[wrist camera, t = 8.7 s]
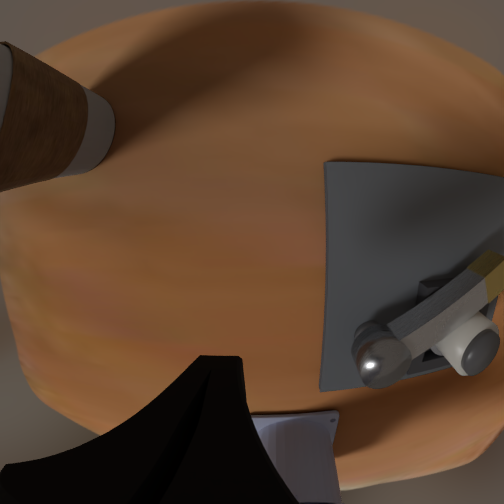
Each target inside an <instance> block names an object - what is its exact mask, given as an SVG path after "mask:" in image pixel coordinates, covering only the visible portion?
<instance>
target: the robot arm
mask: <svg viewBox="0 0 504 504" xmlns="http://www.w3.org/2000/svg"><path fill="white" fill-rule="evenodd" d="M338 420H339V412H338V411H336V410H333V411H324V412H313V413H301V414H283V415H250V412H249V409H248V405H247V402H246V391H245V381H244V372H243V362H242V359H241V358H240V357H239V356H207V355H200V356H199V357H198V358H197V359H196V360H195V361H194V362H193V363H192V364H191V365H190V366H189V367H188V368H187V369H186V370H185V371H184V372H183V373H182V374H181V375H180V376H179V377H178V378H177V379H176V380H175V381H174V382H173V383H171V384H170V385H169V386H168V387H167V388H166V389H165V390H164V391H163V392H162V393H161V394H160V395H158V396H157V397H156V398H155V399H154V400H153V401H151V402H150V403H149V404H148V405H146V406H145V407H144V408H143V409H141V410H140V411H139V412H138V413H136V414H135V415H134V416H132V417H131V418H129V419H128V420H126V421H125V422H123V423H122V424H120V425H118V426H117V427H115V428H114V429H112V430H110V431H109V432H107V433H105V434H103V435H101V436H99V437H97V438H95V439H93V440H91V441H89V442H87V443H84V444H82V445H81V446H78V447H76V448H73V449H70V450H67V451H65V452H62V453H59V454H56V455H52V456H49V457H45V458H41V459H37V460H32V461H26V462H20V463H13V464H6V465H5V466H4V468H3V469H2V470H1V472H0V504H344V503H342V500H341V494H340V488H339V482H338V476H337V470H336V464H335V458H334V453H333V447H332V445H333V441H334V437H335V433H336V429H337V424H338Z"/></svg>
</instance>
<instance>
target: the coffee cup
mask: <svg viewBox="0 0 504 504" xmlns="http://www.w3.org/2000/svg"><path fill="white" fill-rule="evenodd" d="M114 130H115V117H114V113H113V110H112V108H111V106H110V104H109V103H108V102H107V101H106V100H105V99H104V98H102V97H101V96H99V95H97V94H96V93H94V92H92V91H90V90H89V89H87V88H85V87H83V86H82V85H80V84H79V83H77V82H76V81H74V80H72V79H71V78H69V77H68V76H66V75H64V74H63V73H61V72H59V71H58V70H56V69H54V68H52V67H51V66H49V65H47V64H46V63H44V62H42V61H40V60H39V59H37V58H35V57H33V56H32V55H30V54H28V53H26V52H24V51H23V50H21V49H19V48H17V47H15V46H13V45H11V44H10V43H8V42H6V41H5V42H0V192H3V191H6V190H10V189H13V188H17V187H21V186H25V185H29V184H33V183H37V182H42V181H46V180H50V179H53V178H58V177H64V176H71V175H77V174H83V173H85V172H88V171H90V170H92V169H93V168H95V167H96V166H97V165H98V164H99V163H100V162H101V161H102V159H103V158H104V157H105V155H106V153H107V152H108V150H109V148H110V145H111V143H112V140H113V136H114Z"/></svg>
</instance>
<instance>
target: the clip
mask: <svg viewBox="0 0 504 504" xmlns="http://www.w3.org/2000/svg"><path fill="white" fill-rule="evenodd" d="M503 290H504V256H503V255H500V254H498V253H496V252H493V251H491V250H487V251H486V252H485V253H483V254H482V255H481V256H480V257H479V258H477V259H476V260H475V261H474V262H473V263H471V264H470V265H469V266H468V267H467V269H466V270H464V271H463V272H462V273H461V274H459V275H458V276H457V277H455V278H454V279H453V280H452V281H450V282H449V283H448V284H446V285H445V286H444V287H442V288H441V289H439V290H438V291H437V292H435V293H434V294H432V295H431V296H430V297H428V298H427V299H425V300H424V301H422V302H421V303H420V304H418V305H417V306H415V307H414V308H412V309H411V310H409V311H407V312H406V313H404V314H403V315H401V316H400V317H398V318H396V319H395V320H393V321H392V322H390V323H388V324H387V325H386V324H376V325H372V326H370V327H368V328H366V329H365V330H363V331H362V332H361V333H360V334H359V335H358V336H357V337H356V338H355V340H354V342H353V344H352V347H351V355H352V358H353V360H354V363H355V365H356V367H357V370H358V372H359V375H360V377H361V379H362V382H363V383H364V384H365V385H366V386H367V387H369V388H373V389H380V388H385V387H388V386H390V385H392V384H394V383H396V382H397V381H399V380H400V379H401V378H402V377H403V376H404V375H405V374H406V372H407V371H408V369H409V367H410V365H411V361H412V360H413V359H414V358H416V357H417V356H419V355H420V354H422V353H423V352H425V351H426V350H428V349H429V348H431V347H432V346H434V345H435V344H437V343H438V342H439V341H441V340H442V339H444V338H445V337H446V336H448V335H449V334H450V333H452V332H453V331H454V330H456V329H457V328H458V327H460V326H461V325H462V324H463V323H465V322H466V321H467V320H468V319H470V318H471V317H472V316H473V315H475V314H476V313H477V312H478V311H479V310H480V309H482V308H483V307H484V306H485V305H486V304H487V303H490V302H491V301H492V300H493V299H494V298H495V297H496V296H497V295H499V294H500V293H501V292H502V291H503Z"/></svg>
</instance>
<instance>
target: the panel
mask: <svg viewBox="0 0 504 504" xmlns="http://www.w3.org/2000/svg"><path fill="white" fill-rule="evenodd" d="M324 180H325V207H326V283H325V310H324V329H323V344H322V357H321V368H320V379H319V389H320V392H326V391H336V390H344V389H351V388H358V387H365V386H366V385H365V384H364V383H363V382H362V379H361V377H360V375H359V372H358V370H357V367H356V365H355V363H354V360H353V358H352V355H351V347H352V344H353V342H354V340H355V338H356V337H357V336H358V335H359V334H360V333H361V332H362V331H363V330H365V329H366V328H368V327H370V326H372V325H376V324H386V325H387V324H388V323H390V322H392V321H393V320H395V319H396V318H398V317H400V316H401V315H403V314H404V313H406V312H407V311H409V310H411V309H412V308H414V307H415V306H417V305H418V304H420V303H421V302H422V301H424V300H425V299H427V298H428V297H430V296H431V295H432V294H434V293H435V292H437V291H438V290H439V289H441V288H442V287H444V286H445V285H446V284H448V283H449V282H450V281H452V280H453V279H454V278H455V277H457V276H458V275H459V274H461V273H462V272H463V271H464V270H466V269H467V267H468V266H469V265H470V264H471V263H473V262H474V261H475V260H476V259H477V258H479V257H480V256H481V255H482V254H483V253H485V252H486V251H487V250H491V251H493V252H496V253H498V254H500V255H503V256H504V177H499V176H494V175H488V174H482V173H475V172H469V171H462V170H454V169H446V168H437V167H427V166H416V165H403V164H387V163H365V162H324ZM497 298H498V295H497V296H496V297H495V298H494V299H493V300H492V301H491V302H490V303H487V304H486V305H485V306H484V307H483V308H482V309H480V310H479V312H480V313H482V314H483V315H484V316H485V317H487V318H488V319H489V320H491V321H492V318H493V314H494V310H495V306H496V302H497ZM449 367H453V366H452V365H451V364H450V363H449V361H448V360H447V359H446V358H445V357H444V356H441V355H437V354H435V353H434V352H433V351H432V350H431V349H430V348H429V349H428V350H426V351H425V352H423V353H422V354H420V355H419V356H417V357H416V358H414V359H413V360H412V361H411V365H410V367H409V369H408V371H407V372H406V374H405V375H404V376H403V377H402V378H401V379H400V380H403V379H407V378H412V377H416V376H420V375H424V374H428V373H432V372H435V371H439V370H443V369H446V368H449Z"/></svg>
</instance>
